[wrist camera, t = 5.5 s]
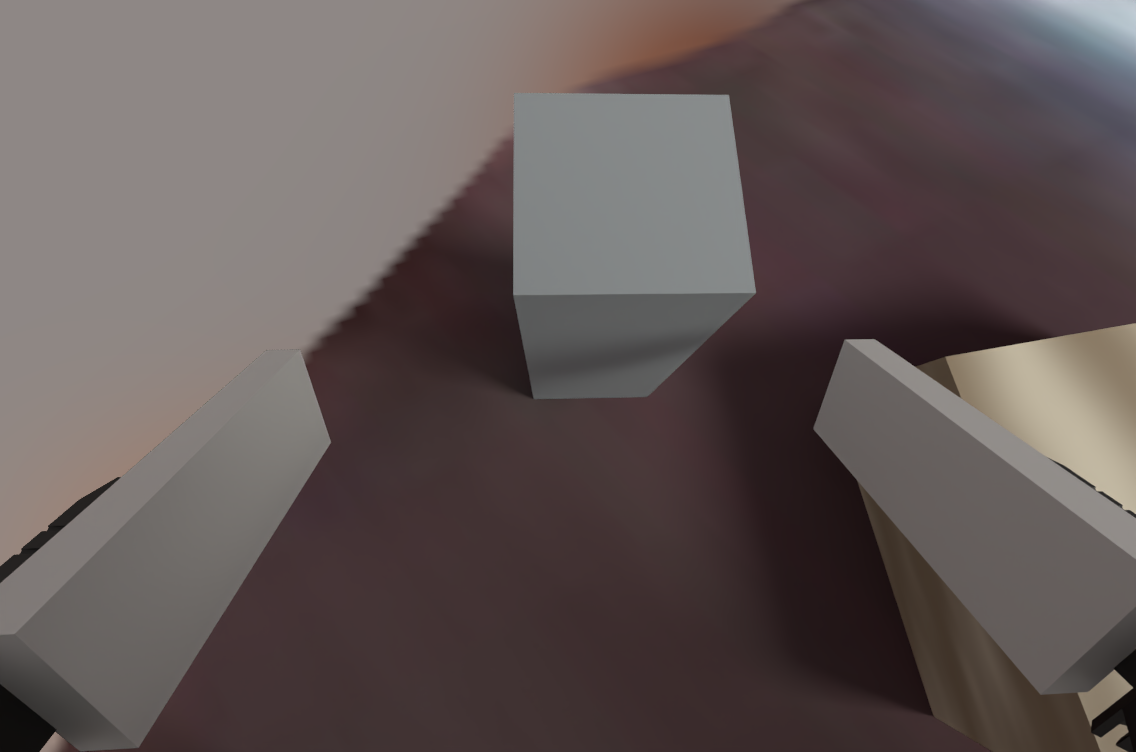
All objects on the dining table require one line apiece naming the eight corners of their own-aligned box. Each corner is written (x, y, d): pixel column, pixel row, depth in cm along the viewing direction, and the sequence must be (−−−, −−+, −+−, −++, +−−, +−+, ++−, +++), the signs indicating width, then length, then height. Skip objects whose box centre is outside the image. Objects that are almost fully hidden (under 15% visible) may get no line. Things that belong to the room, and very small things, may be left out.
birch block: (1077, 351, 24) (1290, 296, 17) (1214, 644, 20) (1547, 722, 14) (826, 396, 22) (945, 356, 16) (928, 713, 19) (1133, 836, 12)
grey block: (639, 292, 23) (728, 94, 12) (647, 396, 22) (755, 292, 10) (532, 293, 23) (514, 92, 11) (533, 399, 22) (513, 295, 10)
